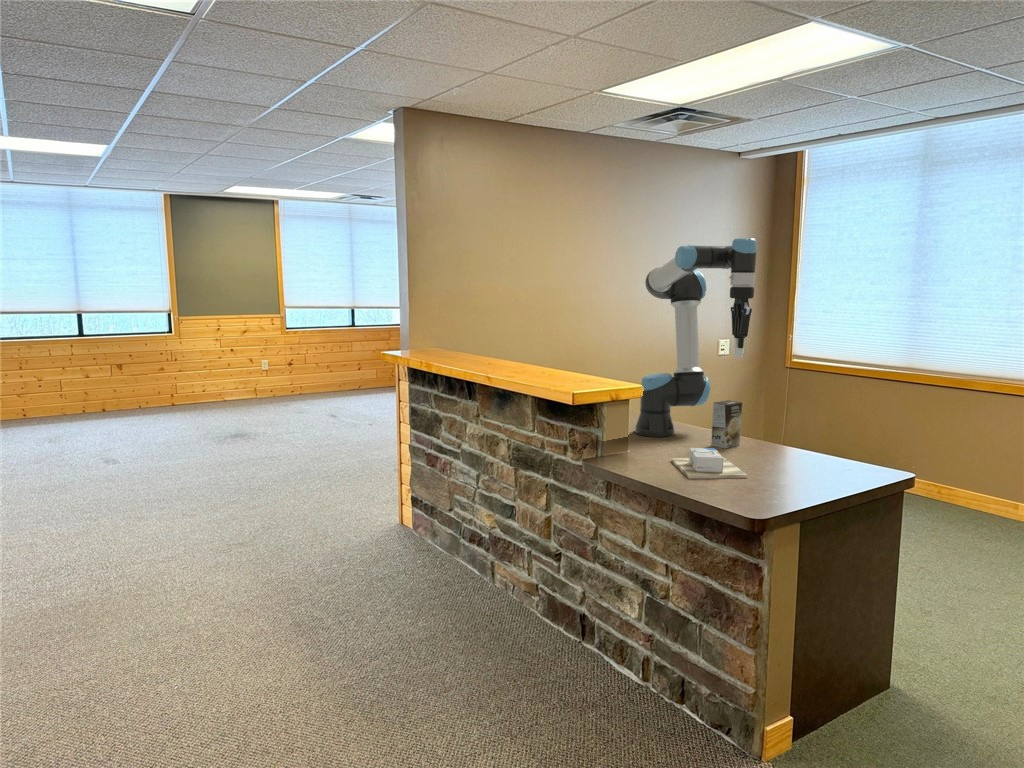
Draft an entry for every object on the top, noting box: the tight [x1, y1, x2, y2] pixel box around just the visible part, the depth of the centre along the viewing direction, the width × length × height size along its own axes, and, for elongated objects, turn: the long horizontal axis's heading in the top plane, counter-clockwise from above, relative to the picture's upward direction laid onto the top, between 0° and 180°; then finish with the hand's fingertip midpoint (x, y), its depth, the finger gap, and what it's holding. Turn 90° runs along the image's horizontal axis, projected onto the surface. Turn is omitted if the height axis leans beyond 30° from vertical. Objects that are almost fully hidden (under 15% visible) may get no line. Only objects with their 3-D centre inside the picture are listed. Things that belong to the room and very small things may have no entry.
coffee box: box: [710, 400, 743, 449], centre depth 250 cm, size 9×6×16 cm
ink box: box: [688, 447, 724, 473], centre depth 219 cm, size 9×5×12 cm
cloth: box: [670, 457, 748, 480], centre depth 220 cm, size 20×18×1 cm
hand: (738, 357), depth 229 cm, fingers closed
